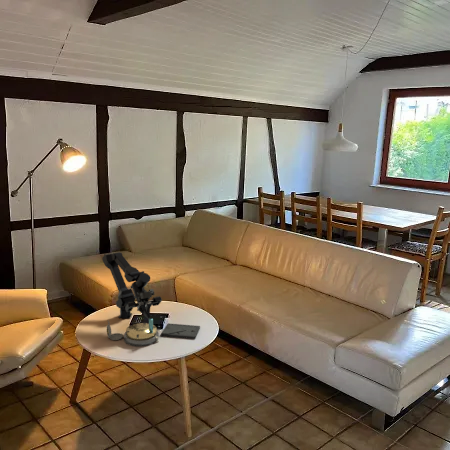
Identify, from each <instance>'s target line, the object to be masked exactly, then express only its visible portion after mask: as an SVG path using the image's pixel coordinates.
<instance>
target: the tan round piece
mask: <svg viewBox="0 0 450 450" xmlns="http://www.w3.org/2000/svg"><path fill="white" fill-rule="evenodd" d="M157 331H158V329H157V326H156V325H154V318H151V317H150V319H148V323H147V322H140V323H134V324H132V325H131V324H130V325H129V326H128V327H126V329H125V332H126V336H127V338H129V339H131V340H136V341H143V340H148V339H151V338H153V337H155V336H156V334H157Z"/></svg>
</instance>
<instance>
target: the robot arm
mask: <svg viewBox="0 0 450 450" xmlns="http://www.w3.org/2000/svg"><path fill="white" fill-rule="evenodd" d="M101 260H102V262H103V263H104V265H105V267H106V268H107V269H108V270H110V272H111V275H112V277H113V278H112V279H113V280H114V284H115V286H116V288H117V291H118V295H117V300H116V302H115V306H116V307H117V308H118V309H119V313H120V314H119V316H118V319H131V318H132V316H133V313H132V312H133V309H134V308H137V309H136V311H137V312H140V314H141V315H143V316H145V318H146V319H148V320H149V319H150V318H151V307H152V306H153V307H156V306H159V305H160V304H161V302H162V301H163V298H162V297H161V296H160V295H158V296H155V290H154V289H153V288H151V289H148V291H147V290H146V289H145V287H146V286H147V285H148V284H149V283H150V281H151V275H149V274H148V273H147V272H145V271H143V270H142V271H140V270H138V268H136V267H135V266H134V267H133V266H132V265H131V264H130V263H129V261H128V260H127V259H126V258H125V257H124V256H123V253H122V252H121V251H118V252H112V253H106V254H104V255H103V256H102V258H101ZM120 269H121V270H122V271H123V273H124V277H123V274H122V272H121V270H120ZM124 278H125V280H126V281H127V282H128V283H131V282H132V283H131V284H130V285H131V286H130V288H128V286H127V284H126V282H125V280H124ZM152 297H153V298H152ZM151 298H152V299H151Z"/></svg>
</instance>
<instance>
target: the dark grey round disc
mask: <svg viewBox="0 0 450 450" xmlns="http://www.w3.org/2000/svg"><path fill="white" fill-rule="evenodd" d="M159 340H160V336H159V331H158V330H157V334H156V336H155V337H153V338H151V339H148V340H143V341H136V340H131V339H129V338H127V336H126V331H125V332H124V334H123V341H124V343H125V344H126V345H128V346H130V347H131V346H132V347H146V346H147V347H148V346H150V345H151V346H152V345H153V344H155V343H159Z"/></svg>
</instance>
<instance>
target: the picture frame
mask: <svg viewBox="0 0 450 450" xmlns="http://www.w3.org/2000/svg"><path fill="white" fill-rule="evenodd" d="M200 330H201V326H200V325H192V324H181V323H180V324H179V323H167V324H166V326H165V327H164V329H163V330H162V331H161V333H160V337H166V338H176V339H177V338H179V339H188V340H196V338H197V336H198V334H199V331H200Z"/></svg>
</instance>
